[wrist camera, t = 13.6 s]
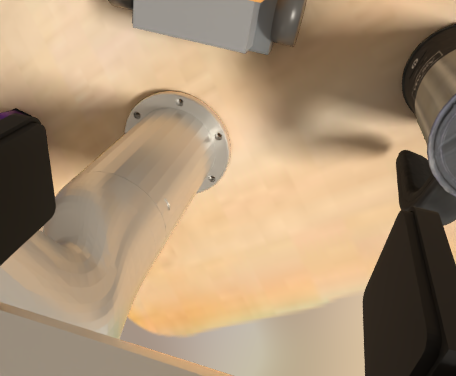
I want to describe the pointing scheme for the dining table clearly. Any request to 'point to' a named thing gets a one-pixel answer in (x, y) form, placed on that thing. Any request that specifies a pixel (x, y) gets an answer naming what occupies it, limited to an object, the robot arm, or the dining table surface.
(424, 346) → the robot arm
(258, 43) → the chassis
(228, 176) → the dining table surface
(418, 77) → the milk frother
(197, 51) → the dining table surface
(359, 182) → the dining table surface
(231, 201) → the dining table surface
